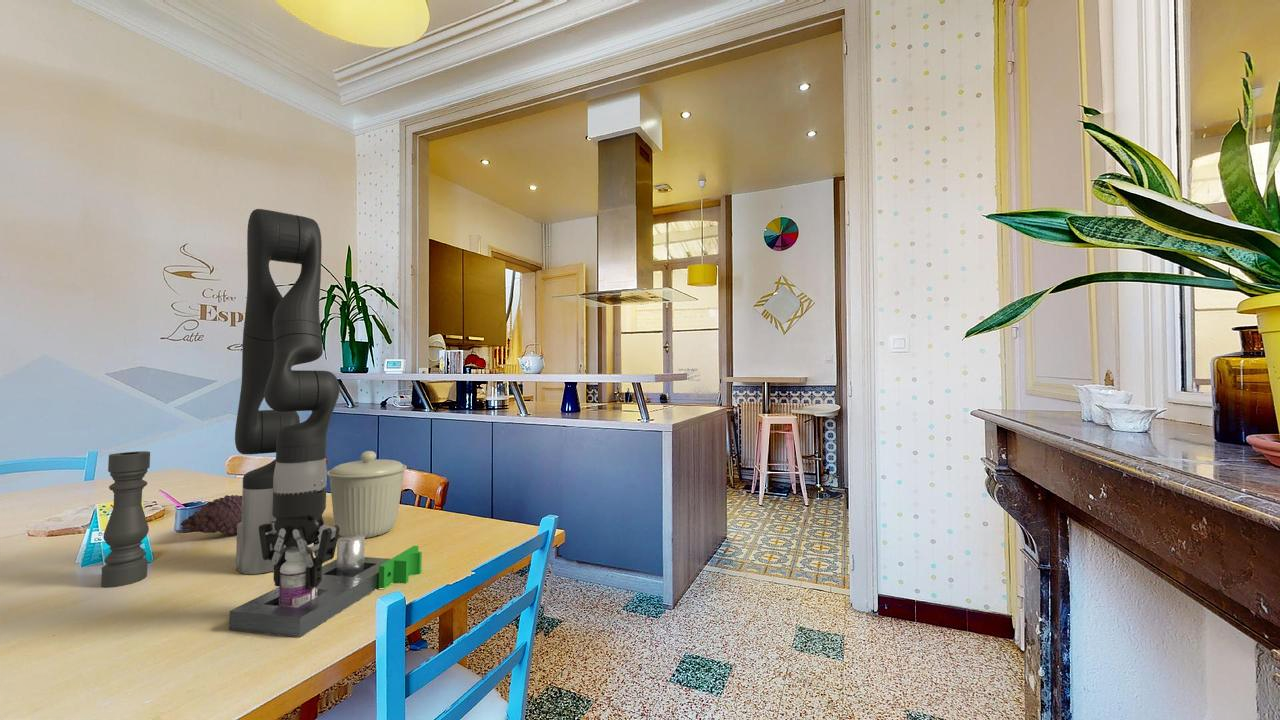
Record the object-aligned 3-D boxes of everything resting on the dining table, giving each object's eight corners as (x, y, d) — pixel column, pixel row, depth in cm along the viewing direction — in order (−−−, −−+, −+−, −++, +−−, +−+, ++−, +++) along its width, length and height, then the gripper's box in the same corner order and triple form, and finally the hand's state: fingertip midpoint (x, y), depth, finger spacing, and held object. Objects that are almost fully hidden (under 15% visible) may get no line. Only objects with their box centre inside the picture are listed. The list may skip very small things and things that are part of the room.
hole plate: (228, 629, 77) (229, 610, 77) (344, 569, 100) (344, 555, 100) (299, 637, 74) (300, 617, 75) (400, 574, 98) (400, 559, 98)
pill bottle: (291, 598, 84) (293, 543, 85) (323, 597, 85) (325, 542, 85) (270, 613, 79) (272, 554, 79) (304, 612, 79) (306, 554, 80)
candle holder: (153, 577, 96) (158, 452, 97) (109, 589, 90) (114, 457, 91) (138, 572, 99) (143, 450, 99) (95, 583, 93) (100, 454, 94)
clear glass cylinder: (330, 588, 91) (331, 541, 92) (348, 578, 96) (349, 533, 96) (351, 590, 91) (352, 542, 91) (369, 580, 95) (370, 534, 95)
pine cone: (184, 549, 111) (185, 506, 112) (175, 540, 117) (176, 499, 117) (276, 530, 125) (277, 492, 126) (263, 523, 131) (264, 486, 132)
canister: (306, 542, 116) (309, 455, 117) (361, 520, 134) (363, 445, 135) (372, 547, 113) (374, 458, 114) (419, 524, 131) (421, 447, 132)
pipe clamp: (396, 591, 91) (396, 567, 91) (378, 590, 91) (378, 566, 92) (429, 567, 102) (429, 545, 102) (413, 566, 103) (413, 545, 103)
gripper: (243, 489, 80) (239, 592, 79) (319, 493, 77) (316, 599, 77) (283, 479, 87) (280, 573, 86) (354, 483, 85) (351, 579, 84)
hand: (297, 585), depth 82 cm, fingers closed on pill bottle, 5 cm apart
